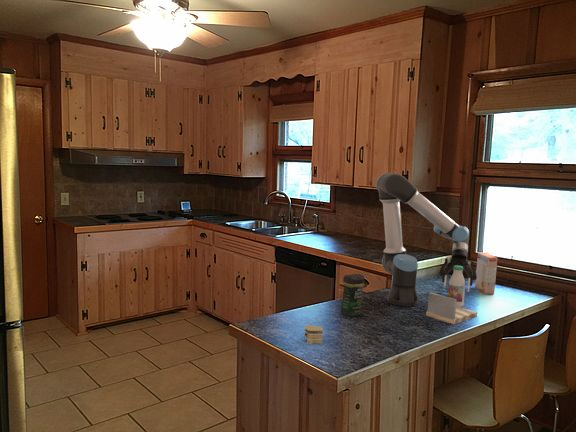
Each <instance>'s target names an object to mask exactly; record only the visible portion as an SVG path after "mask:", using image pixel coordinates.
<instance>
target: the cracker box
mask: <svg viewBox="0 0 576 432" xmlns="http://www.w3.org/2000/svg"><path fill="white" fill-rule="evenodd" d="M476 258H477V259H476V260H477V261H476V270H475V272H476V275H477V279H476V280H474V282H475V283H474V288H475V289H476V290H478V291H479V292H481V293H482V294H484V295H495V288H496V277H497V268H498V259H499V258H498V257H497V256H495V255H493V254H490V253H487V252H477V257H476Z"/></svg>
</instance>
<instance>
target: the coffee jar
mask: <svg viewBox="0 0 576 432" xmlns="http://www.w3.org/2000/svg"><path fill="white" fill-rule="evenodd" d="M342 286H343V292H342V293H343V294H342V300H341V306H340V313H341V314H342V315H343V316H345V317H358V316H360V315H362V314H363V291H364V289H363V288H364V286H365V276H364V275H362V274H360V273H352V274H346V275H345V274H344V276H343V279H342Z"/></svg>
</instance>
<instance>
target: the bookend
mask: <svg viewBox="0 0 576 432" xmlns="http://www.w3.org/2000/svg"><path fill="white" fill-rule="evenodd" d="M456 301H457V299H453V298H450V297H448V296H445V295H441V294H438V293H435V292H431V291H430V292H428V298H427V312H430V313H433V314H436V315H439V316H442V317H446V318H449V319H452V320H454V319H455V312H456Z"/></svg>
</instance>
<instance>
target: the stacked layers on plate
mask: <svg viewBox="0 0 576 432" xmlns="http://www.w3.org/2000/svg"><path fill="white" fill-rule="evenodd" d="M304 328H305V329H304V330H303V331H304V334H303V336H304V337H305V339H307V342H306V343H307V344H309V345H312V344H322V342H323V339H324V338H323V335H324V332H323V331H324V328H323V326H318V325H317V326H316V325H309V324H306V325H305V326H304Z"/></svg>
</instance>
